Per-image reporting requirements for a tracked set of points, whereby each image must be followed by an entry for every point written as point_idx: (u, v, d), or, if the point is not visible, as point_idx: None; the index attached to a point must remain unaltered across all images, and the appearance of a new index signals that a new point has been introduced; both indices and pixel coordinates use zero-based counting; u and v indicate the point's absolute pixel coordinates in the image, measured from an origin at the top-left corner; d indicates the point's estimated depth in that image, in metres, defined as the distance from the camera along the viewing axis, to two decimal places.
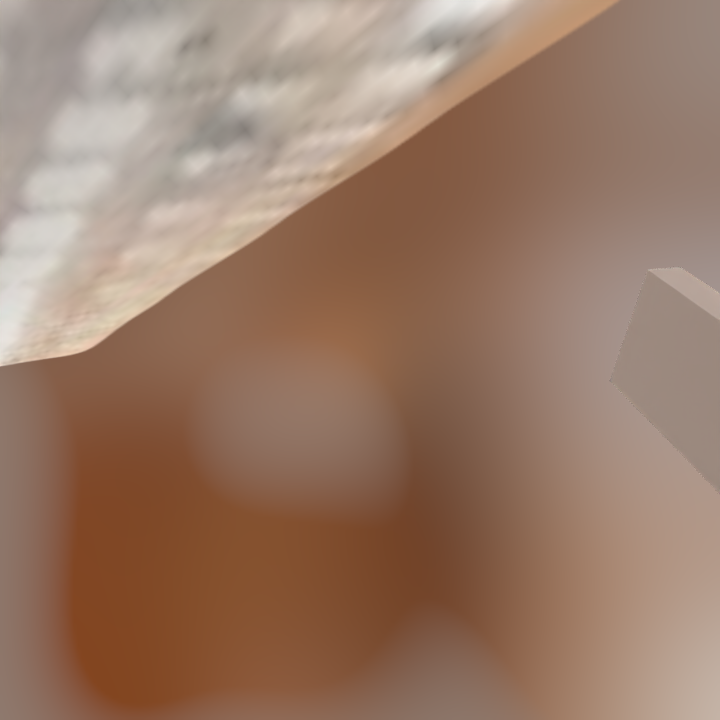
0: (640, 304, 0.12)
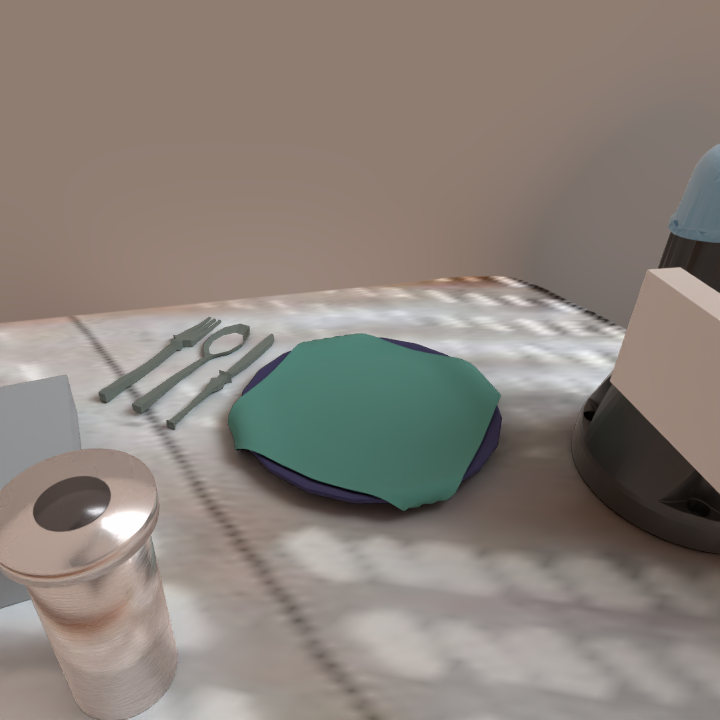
0: (640, 304, 0.12)
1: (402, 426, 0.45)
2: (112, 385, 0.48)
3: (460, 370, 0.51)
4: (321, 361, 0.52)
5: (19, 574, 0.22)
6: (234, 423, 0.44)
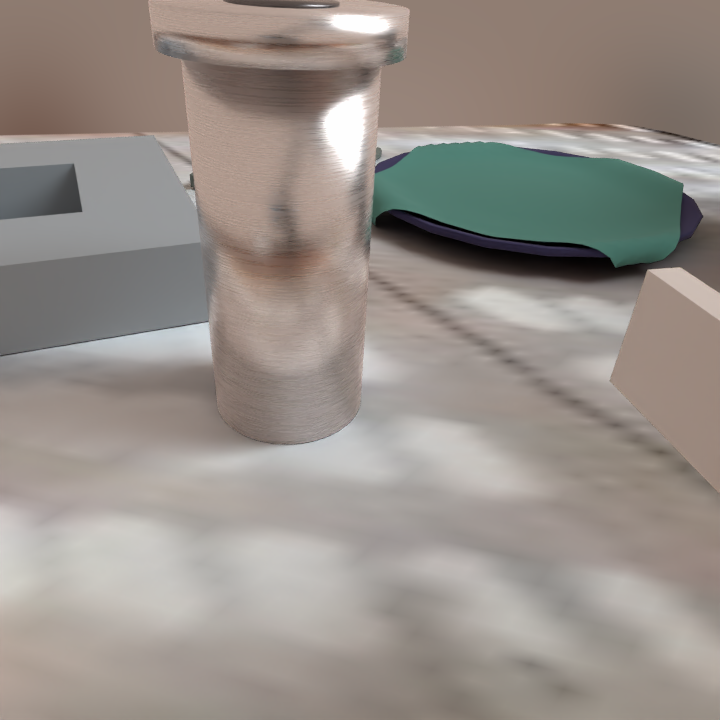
0: (640, 304, 0.12)
1: (572, 207, 0.37)
2: None
3: (621, 166, 0.42)
4: (448, 162, 0.43)
5: (226, 34, 0.13)
6: None
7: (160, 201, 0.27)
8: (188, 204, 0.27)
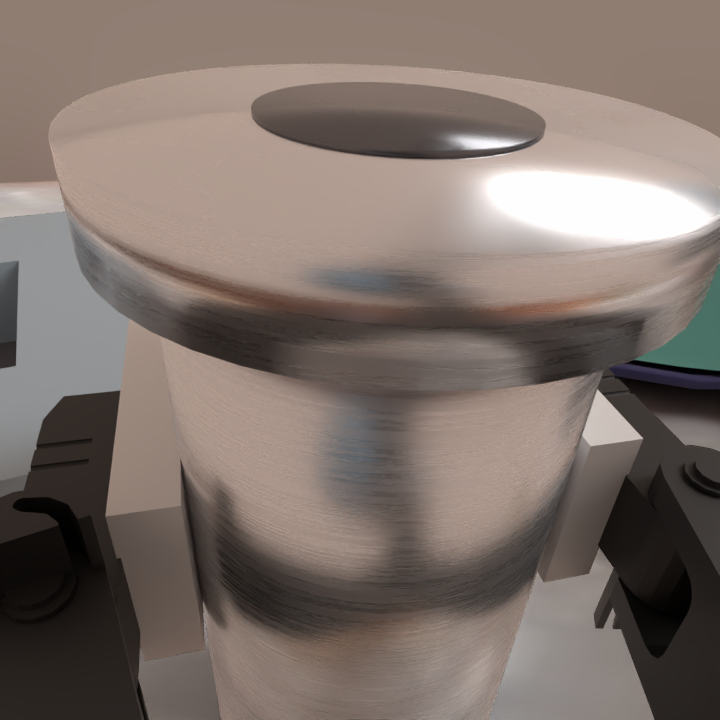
0: None
1: None
2: None
3: None
4: None
5: (280, 297, 0.04)
6: None
7: None
8: None
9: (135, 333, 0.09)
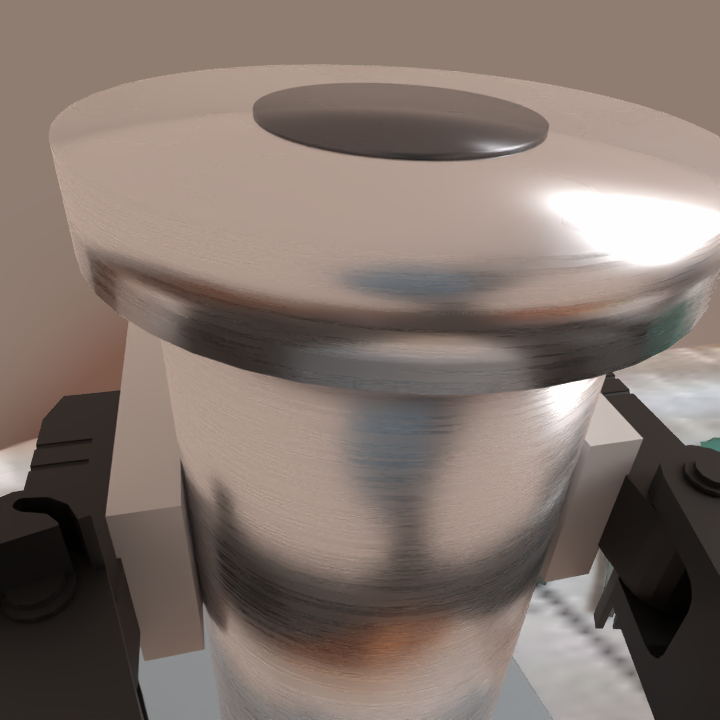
0: None
1: None
2: None
3: None
4: None
5: (282, 299, 0.04)
6: None
7: None
8: None
9: (135, 333, 0.09)
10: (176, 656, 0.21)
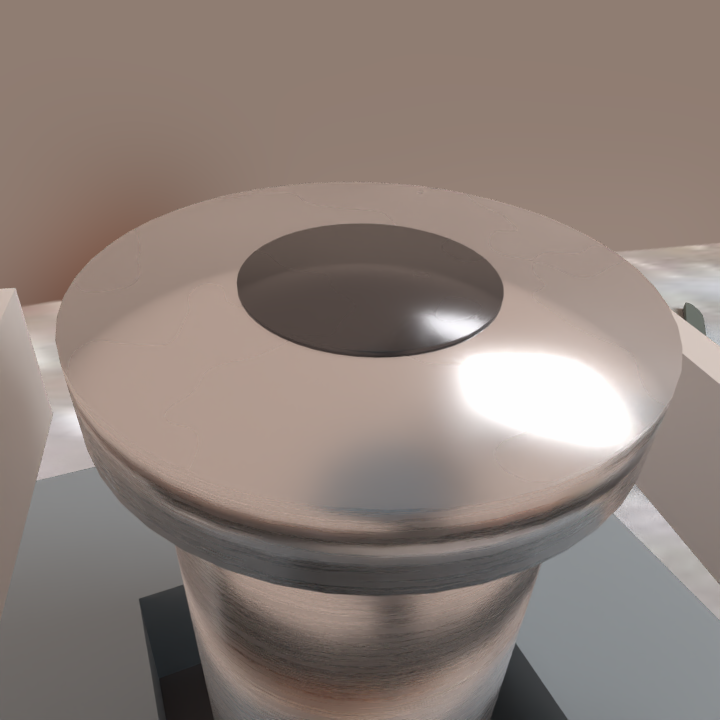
0: None
1: None
2: None
3: None
4: None
5: (257, 530, 0.04)
6: None
7: None
8: None
9: None
10: None
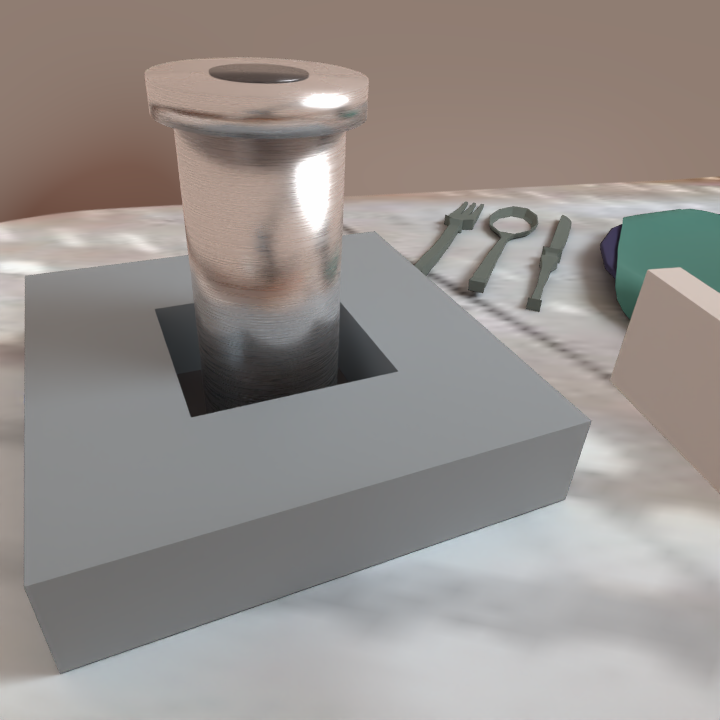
0: (640, 304, 0.12)
1: None
2: (421, 262, 0.35)
3: None
4: (661, 237, 0.39)
5: (209, 111, 0.15)
6: (638, 294, 0.31)
7: (471, 348, 0.22)
8: (507, 352, 0.22)
9: None
10: (153, 277, 0.26)
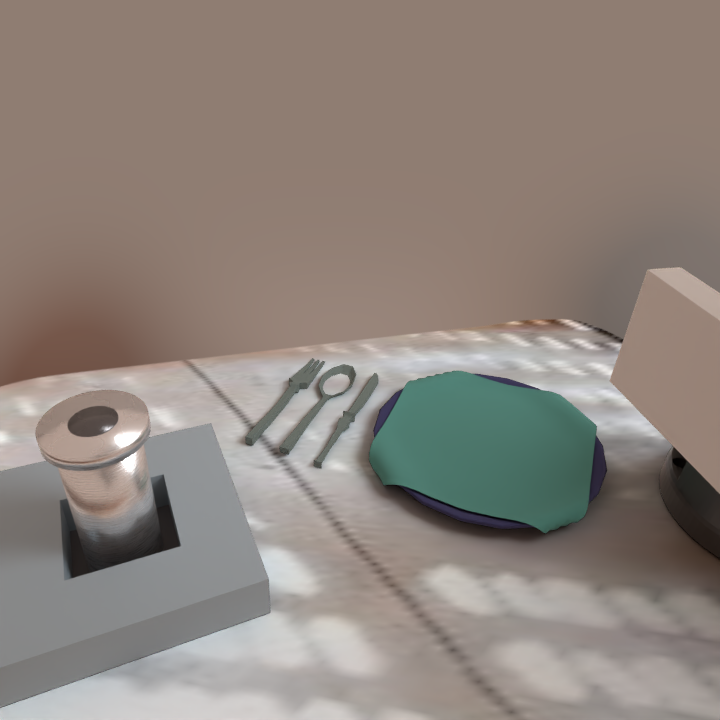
0: (640, 304, 0.12)
1: (519, 457, 0.52)
2: (254, 429, 0.54)
3: (554, 402, 0.58)
4: (429, 398, 0.59)
5: (60, 461, 0.34)
6: (378, 461, 0.50)
7: (228, 527, 0.41)
8: (247, 530, 0.41)
9: None
10: None
